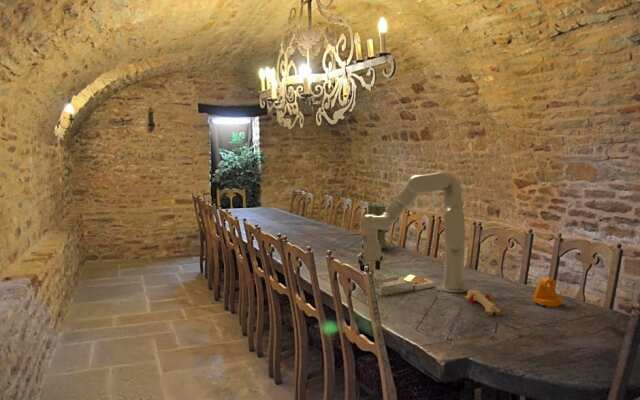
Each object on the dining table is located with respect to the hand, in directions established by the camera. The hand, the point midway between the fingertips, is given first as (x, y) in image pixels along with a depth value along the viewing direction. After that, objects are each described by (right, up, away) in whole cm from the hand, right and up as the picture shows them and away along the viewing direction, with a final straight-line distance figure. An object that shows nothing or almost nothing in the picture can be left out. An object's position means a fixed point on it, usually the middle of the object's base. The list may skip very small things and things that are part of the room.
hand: (370, 270), depth 264 cm
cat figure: (+47, -12, -36) cm, 60 cm away
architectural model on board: (+7, -1, +58) cm, 59 cm away
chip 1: (+21, -6, -3) cm, 22 cm away
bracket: (+78, -11, -33) cm, 85 cm away
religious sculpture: (+14, +3, +94) cm, 95 cm away
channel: (+9, -8, -10) cm, 16 cm away
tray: (+23, -7, -2) cm, 24 cm away
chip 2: (+25, -4, -1) cm, 25 cm away
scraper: (0, -7, +1) cm, 7 cm away
